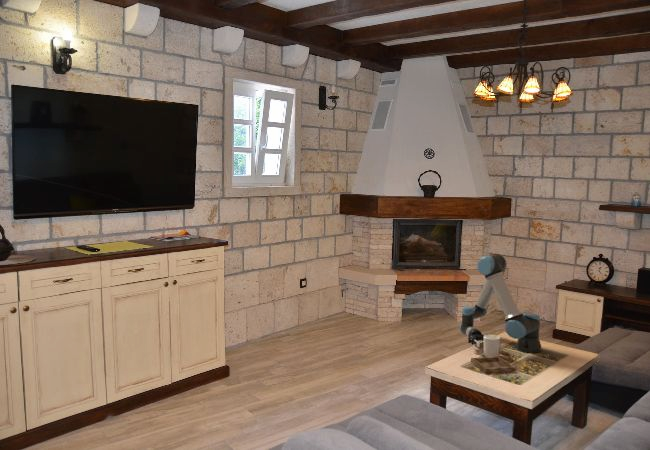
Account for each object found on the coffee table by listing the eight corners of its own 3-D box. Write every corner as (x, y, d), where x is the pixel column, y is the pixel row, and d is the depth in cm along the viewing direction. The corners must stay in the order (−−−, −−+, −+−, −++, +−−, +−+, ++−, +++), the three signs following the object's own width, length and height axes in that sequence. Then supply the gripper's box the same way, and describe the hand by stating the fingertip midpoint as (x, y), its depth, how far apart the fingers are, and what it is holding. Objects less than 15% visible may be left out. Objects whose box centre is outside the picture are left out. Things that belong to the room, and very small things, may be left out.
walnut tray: (499, 360, 313) (499, 356, 313) (515, 371, 295) (515, 367, 295) (470, 362, 310) (470, 357, 309) (485, 373, 292) (485, 369, 292)
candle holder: (496, 360, 314) (496, 340, 313) (480, 356, 320) (480, 337, 318) (501, 355, 322) (502, 336, 320) (485, 352, 327) (486, 333, 326)
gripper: (491, 338, 344) (508, 349, 323) (455, 340, 340) (470, 351, 319) (492, 327, 344) (508, 337, 323) (456, 329, 339) (470, 339, 318)
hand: (489, 344), depth 321 cm, fingers open, 13 cm apart
